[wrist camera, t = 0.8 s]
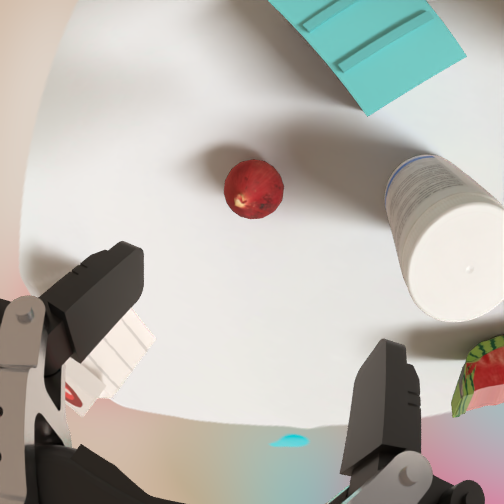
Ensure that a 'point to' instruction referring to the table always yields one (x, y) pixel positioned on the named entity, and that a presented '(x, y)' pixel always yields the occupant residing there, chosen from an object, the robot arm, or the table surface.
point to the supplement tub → (446, 238)
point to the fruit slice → (481, 378)
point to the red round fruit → (253, 189)
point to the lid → (375, 44)
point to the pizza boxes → (107, 363)
